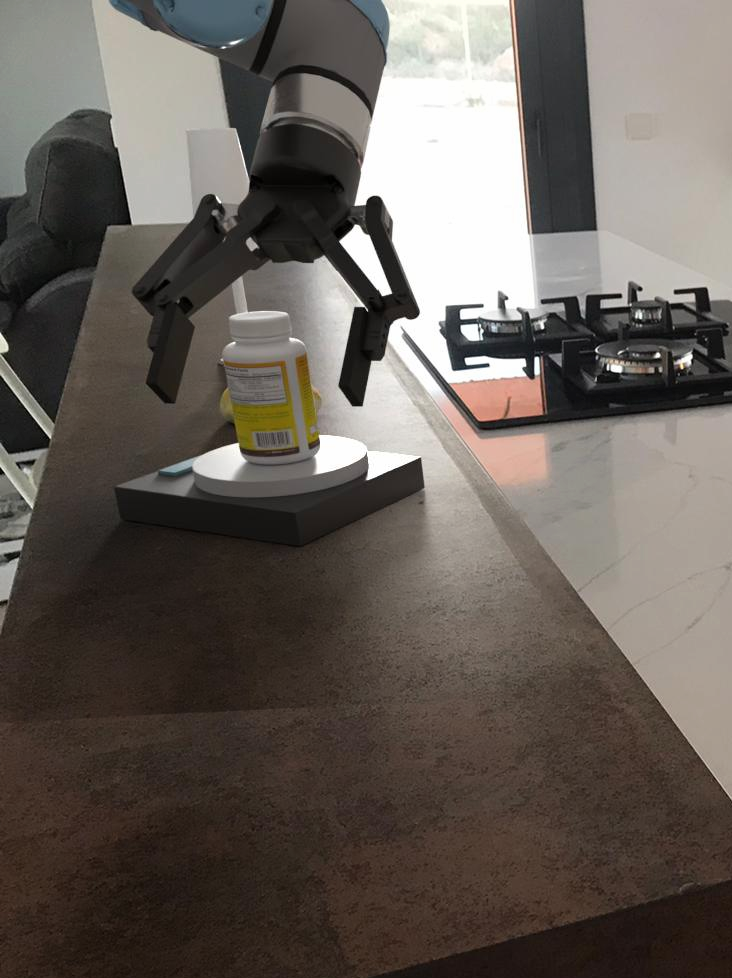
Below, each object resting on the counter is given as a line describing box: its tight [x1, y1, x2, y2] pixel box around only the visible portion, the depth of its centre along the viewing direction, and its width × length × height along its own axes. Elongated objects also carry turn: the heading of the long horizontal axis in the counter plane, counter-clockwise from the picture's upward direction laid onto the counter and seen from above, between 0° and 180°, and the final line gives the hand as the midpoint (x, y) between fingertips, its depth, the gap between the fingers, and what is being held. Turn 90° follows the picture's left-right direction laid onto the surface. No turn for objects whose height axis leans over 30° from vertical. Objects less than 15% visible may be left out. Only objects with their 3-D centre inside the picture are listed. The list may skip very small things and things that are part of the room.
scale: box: [113, 434, 426, 547], centre depth 95 cm, size 16×14×4 cm
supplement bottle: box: [221, 310, 321, 465], centre depth 92 cm, size 6×6×10 cm
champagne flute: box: [185, 127, 257, 361], centre depth 137 cm, size 7×7×24 cm
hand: (255, 395), depth 89 cm, fingers open, 13 cm apart
